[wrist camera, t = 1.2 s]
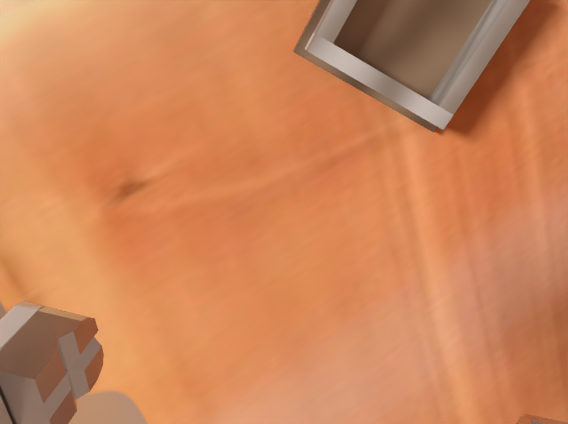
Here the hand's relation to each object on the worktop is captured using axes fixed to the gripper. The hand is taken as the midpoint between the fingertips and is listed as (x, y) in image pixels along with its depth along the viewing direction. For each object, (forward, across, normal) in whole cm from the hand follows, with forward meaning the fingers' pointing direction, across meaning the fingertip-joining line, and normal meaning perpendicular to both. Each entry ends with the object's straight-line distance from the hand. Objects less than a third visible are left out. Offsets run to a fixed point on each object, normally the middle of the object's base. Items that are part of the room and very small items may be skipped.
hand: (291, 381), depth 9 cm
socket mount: (+32, -1, 0) cm, 32 cm away
